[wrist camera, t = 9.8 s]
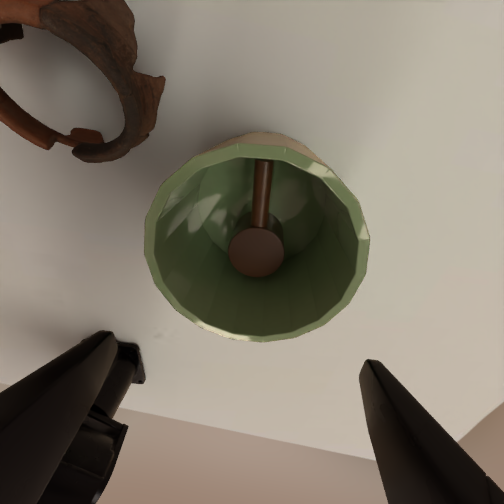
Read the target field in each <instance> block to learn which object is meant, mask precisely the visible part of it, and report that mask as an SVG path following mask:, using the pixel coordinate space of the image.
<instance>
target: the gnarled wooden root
mask: <svg viewBox="0 0 504 504" xmlns="http://www.w3.org/2000/svg"><path fill="white" fill-rule="evenodd" d="M22 24H25V25H29V26H32V27H36V28H39V29H44V30H48V31H50V32H51V33H53V34H54V35H56V36H58V37H60V38H62V39H63V40H65V41H66V42H68V43H70V44H71V45H73V46H74V47H75V48H77V49H78V50H79V51H81V52H82V53H83V54H84V55H85V56H87V57H88V58H89V59H90V60H91V61H92V62H93V63H94V64H95V65H96V66H97V67H98V68H99V69H100V70H101V71H102V73H103V74H104V75H105V76H106V77H107V79H108V80H109V81H110V83H111V84H112V86H113V88H114V89H115V90H116V92H117V93H118V95H119V98H120V101H121V103H122V106H123V112H124V116H125V127H124V129H123V132H122V133H121V134H120V136H118V137H117V138H116V139H114V140H112V141H110V142H107V143H104V140H103V138H102V135H101V133H100V132H98V131H96V130H90V129H84V128H73V129H72V130H71V134H70V135H66V136H65V135H63V134H61V133H59V132H57V131H55V130H53V129H51V128H49V127H47V126H46V125H44V124H42V123H41V122H39V121H38V120H37V119H35V118H34V117H32V116H31V115H30V114H29V113H27V112H26V111H24V110H23V109H22V108H21V107H20V106H19V105H18V104H17V103H16V102H15V101H13V100H12V99H11V98H10V97H9V96H8V95H7V94H6V92H5V91H4V90H3V89H2V88H1V87H0V121H1V122H2V123H4V124H5V125H7V126H8V127H9V128H10V129H11V130H13V131H14V132H16V133H17V134H19V135H20V136H21V137H23V138H24V139H26V140H28V141H30V142H31V143H33V144H35V145H37V146H39V147H41V148H43V149H46V150H49V149H51V148H52V147H53V145H54V143H55V142H59V143H62V144H65V145H67V146H70V147H74V148H73V150H72V154H73V156H75V157H77V158H78V159H80V160H82V161H83V162H87V163H102V162H108V161H114V160H117V159H119V158H122V157H123V156H124V155H126V154H127V153H128V152H129V151H130V149H131V148H133V147H136V146H137V145H139V144H141V143H142V142H143V141H145V140H146V139H147V138H148V137H149V132H150V131H152V130H153V129H154V127H155V124H156V118H157V110H158V106H159V102H160V99H161V95H162V93H163V90H164V86H165V81H166V79H165V77H164V76H159V77H153V76H150V75H146V74H142V73H138V72H135V71H134V70H133V66H134V64H135V62H136V59H137V41H136V37H135V34H134V24H135V20H134V15H133V13H132V11H131V10H130V8H129V7H128V5H127V4H126V3H125V1H124V0H81V1H58V0H0V44H2V43H5V42H8V41H10V40H16V39H22V38H24V35H23V28H22Z"/></svg>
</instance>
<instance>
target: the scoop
mask: <svg viewBox="0 0 504 504" xmlns="http://www.w3.org/2000/svg"><path fill="white" fill-rule="evenodd" d="M273 164H274V161H273V160H272V159H259V158H256V159H255V165H254V179H253V194H252V208H251V212H248V213H246V214H244V215H243V216H242V217H241V218H240V219H239V220H238V222H237V224H236V226H235V229H234V232H233V235H232V238H231V240H230V243H229V247H228V256H229V259H230V261H231V263H232V265H233V266H234V267H235V268H236V269H237V270H238V271H239V272H241V273H243V274H245V275H247V276H251V277H263V276H267V275H270V274H272V273H273V272H275V271H276V270H277V269H278V268H279V267H280V266H281V264H282V262H283V260H284V255H285V251H284V238H283V228H282V225H281V223H280V221H279V220H278V219H277V218H276V217H275V216H274V215H273V214H271V213H269V202H270V193H271V183H272V173H273Z"/></svg>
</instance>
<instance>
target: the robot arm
mask: <svg viewBox="0 0 504 504" xmlns="http://www.w3.org/2000/svg"><path fill="white" fill-rule="evenodd" d="M145 380H146V379H145V374H144V370H143V365H142V361H141V356H140V352H139V348H138V346H136V345H134V344H125V343H116V340H115V336H114V333H113V332H112V331H105V330H101V331H98V332H97V333H95V334H93V335H92V336H90V337H89V338H87V339H83V340H82V341H81V342H80V343H79V344H77V345H76V346H74V347H73V348H71V349H69V350H68V351H66V352H65V353H63V354H61V355H60V356H58V357H57V358H55V359H53V360H52V361H50V362H49V363H47V364H46V365H44V366H42V367H41V368H39V369H38V370H36V371H34V372H33V373H31V374H30V375H28V376H26V377H25V378H23V379H22V380H20V381H18V382H17V383H15V384H14V385H12V386H10V387H9V388H7V389H6V390H4V391H2V392H1V393H0V504H95V503H96V502H97V500H98V499H99V498H100V496H101V494H102V493H103V491H104V489H105V487H106V485H107V483H108V481H109V479H110V477H111V475H112V472H113V470H114V467H115V464H116V461H117V458H118V455H119V452H120V450H121V447H122V444H123V441H124V438H125V435H126V432H127V429H128V425H126V424H121V423H119V422H117V421H115V420H113V419H112V418H113V416H114V414H115V412H116V411H117V409H118V407H119V405H120V403H121V401H122V400H123V398H124V396H125V394H126V392H127V390H128V388H129V386H130V385H131V383H136V384H143V383H144V382H145ZM359 382H360V388H361V393H362V399H363V405H364V411H365V416H366V422H367V427H368V431H369V435H370V439H371V443H372V446H373V450H374V453H375V457H376V461H377V464H378V468H379V471H380V475H381V479H382V482H383V486H384V490H385V492H386V497H387V500H388V504H504V492H503V491H502V490H501V489H500V488H499V487H498V486H497V485H496V483H495V482H494V481H493V480H492V479H491V478H490V477H489V476H486V473H485V472H484V471H483V470H482V469H481V468H480V467H479V466H478V465H477V464H476V462H475V461H473V459H472V458H471V457H470V456H469V455H468V454H467V453H466V452H465V451H464V450H463V449H462V448H461V447H460V446H459V444H458V443H457V442H456V441H455V440H454V439H453V438H452V437H451V436H450V435H449V434H448V433H447V432H446V431H445V430H444V429H443V428H442V426H441V425H440V424H439V423H438V422H437V421H436V420H435V419H434V418H433V417H432V416H431V415H430V414H429V413H428V412H427V411H426V410H425V408H424V407H423V406H422V405H421V404H420V403H419V402H418V401H417V400H416V399H415V398H414V397H413V396H412V395H411V394H410V393H409V392H408V390H407V389H406V388H405V387H404V386H403V385H402V384H401V383H400V382H399V381H398V380H397V379H396V378H395V377H394V376H393V375H392V374H391V373H390V371H389V370H388V369H387V368H386V367H385V366H384V365H383V364H382V363H381V362H380V361H378V360H371V359H367V360H366V361H365V362H364V365H363V367H362V369H361V372H360V374H359Z"/></svg>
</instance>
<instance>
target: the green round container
mask: <svg viewBox="0 0 504 504" xmlns="http://www.w3.org/2000/svg"><path fill="white" fill-rule="evenodd" d="M256 158H259V159H272V160H273V161H274V164H273V173H272V183H271V193H270V202H269V213H271V214H273V215H274V216H275V217H276V218H277V219H278V220H279V221H280V223H281V225H282V228H283V238H284V251H285V255H284V260H283V262H282V264H281V266H280V267H279V268H278V269H277V270H276V271H275V272H273V273H272V274H270V275H267V276H263V277H251V276H247V275H245V274H243V273H241V272H239V271H238V270H237V269H236V268H235V267H234V266H233V265H232V263H231V261H230V259H229V256H228V247H229V243H230V240H231V238H232V235H233V232H234V229H235V226H236V224H237V222H238V220H239V219H240V218H241V217H242V216H243V215H244V214H246V213H248V212H251V208H252V194H253V179H254V165H255V159H256ZM369 245H370V236H369V233H368V229H367V226H366V223H365V220H364V216H363V213H362V210H361V207H360V203H359V202H358V199H357V198H356V197H355V196H354V195H353V194H352V193H351V191H350V190H349V189H348V188H347V187H346V186H345V184H344V183H343V182H342V181H341V180H340V179H339V178H338V176H337V175H336V174H335V173H334V172H333V171H332V169H331V168H329V167H328V166H327V165H326V164H325V163H324V162H323V161H322V160H321V159H320V158H319V157H317V156H316V155H315V154H314V153H313V152H312V151H311V150H310V149H309V148H308V147H306V146H305V145H303V144H301V143H299V142H297V141H295V140H293V139H291V138H289V137H287V136H285V135H283V134H278V133H269V132H250V133H247V134H244V135H241V136H237V137H235V138H232V139H229V140H226V141H224V142H222V143H220V144H218V145H216V146H214V147H212V148H210V149H208V150H206V151H204V152H202V153H200V154H198V155H196V156H195V157H193V158H191V159H190V160H189V161H188V162H187V163H185V164H184V165H183V166H182V167H181V168H180V169H178V170H177V171H176V172H175V173H174V174H173V175H171V176H170V177H169V178H168V179H167V180H166V181H164V182H163V183H162V185H161V186H160V188H159V190H158V192H157V194H156V196H155V199H154V201H153V203H152V205H151V207H150V209H149V211H148V213H147V215H146V219H145V236H144V255H145V258H146V261H147V263H148V266H149V269H150V272H151V275H152V277H153V280H154V283H155V284H156V286H157V288H158V289H159V290H160V291H161V293H162V294H163V295H164V296H165V298H166V299H167V300H168V301H169V303H170V304H171V305H172V306H173V308H174V309H176V311H178V312H179V313H180V314H182V315H183V316H185V317H186V318H188V319H189V320H190V321H192V322H193V323H195V324H196V325H198V326H199V327H200V328H202V329H205V330H208V331H210V332H213V333H216V334H219V335H221V336H224V337H227V338H229V339H234V340H244V341H253V342H270V341H277V340H284V339H291V338H294V337H295V338H296V337H298V336H300V335H303V334H305V333H307V332H310V331H312V330H314V329H317V328H319V327H321V326H323V325H325V324H326V323H327V322H329V321H330V320H331V319H332V318H333V317H334V316H335V315H337V314H338V313H339V312H340V311H341V310H342V309H344V308H345V307H346V306H347V305H348V304H349V303H350V301H351V300H352V298H353V296H354V294H355V293H356V291H357V289H358V287H359V286H360V284H361V282H362V280H363V278H364V277H365V274H366V269H367V261H368V253H369Z"/></svg>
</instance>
